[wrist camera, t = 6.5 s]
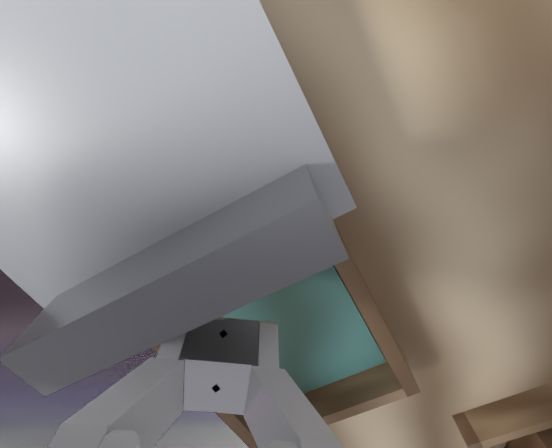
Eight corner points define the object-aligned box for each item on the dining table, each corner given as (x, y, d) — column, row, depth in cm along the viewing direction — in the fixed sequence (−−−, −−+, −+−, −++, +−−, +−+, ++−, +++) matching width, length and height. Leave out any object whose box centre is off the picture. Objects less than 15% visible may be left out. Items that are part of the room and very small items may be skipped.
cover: (112, 293, 13) (32, 411, 9) (-66, 106, 10) (-338, 139, 5) (338, 179, 11) (385, 253, 7) (207, -98, 8) (129, -303, 4)
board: (338, 494, 25) (350, 568, 21) (-33, 65, 12) (-166, 64, 8) (594, 415, 21) (662, 487, 17) (466, -314, 8) (620, -610, 5)
